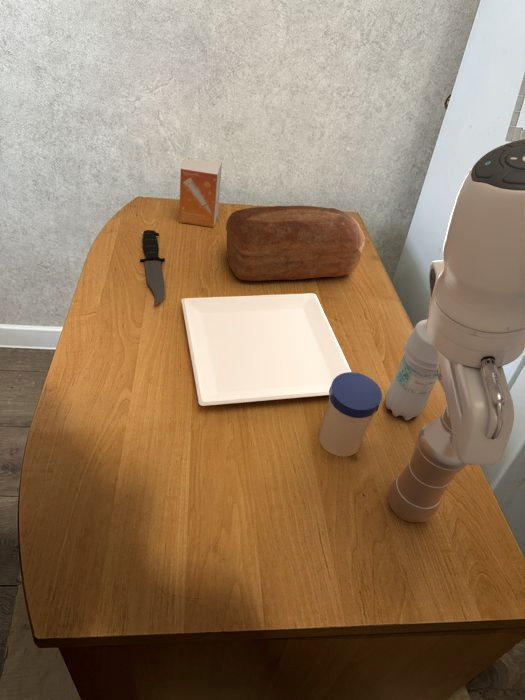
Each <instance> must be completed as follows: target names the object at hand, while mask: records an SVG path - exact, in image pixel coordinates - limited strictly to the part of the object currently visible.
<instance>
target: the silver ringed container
mask: <svg viewBox="0 0 525 700" xmlns="http://www.w3.org/2000/svg"><path fill="white" fill-rule="evenodd" d="M451 431H452V427H451V422H450V416H449V411H448V406H447V405H446V408H445V409H444V411H443V412H442V413H441V415H440V417H438V418H434V419H432V420H431V419H430V420H429V421H428V422H427V423H425V424H424V425H423V426H422V427H421V428H420V430H419V433H418V435H417V439H416V442H415V446H414V449H413V451H412V454H411V456H410V459H409V461H408V462H407V464H406V465H405V467H404V469H402V471H401V472H400V473H399V474H397V476H395V478H394V479H393V481H392V482H391V483H390V485H389V489H388V493H387V494H388V495H387V500H388V504H389V505H390V507H391V509H392V510H393V512H394V513H395V514H396V516H398V517H399V518H400V519H402V520H404V521H407V522H409V523H424V522H427V521H429V520H430V519H431V518H432V517H434V516H435V515H436V514H437V512H438V510H439V508H440V505H441V501H442V497H443V496H444V494H445V491H446V489H447V488H448V486H449V485H450V483H452V481H453V480H454V479H455V477H456V476H457V475H458V474H459V473H460V472H461V471H462V470H463V469H464V468H466V466H468V464H465V463H463V462H461V461H460V460H459V459H458V457H457V453H456V451H452V450H451V445H450V439H449V437H450V434H451Z"/></svg>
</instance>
